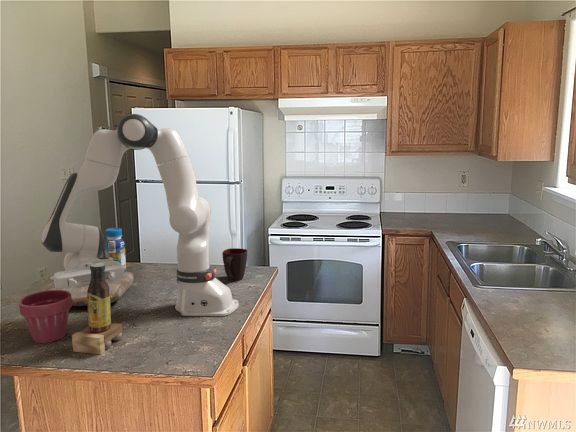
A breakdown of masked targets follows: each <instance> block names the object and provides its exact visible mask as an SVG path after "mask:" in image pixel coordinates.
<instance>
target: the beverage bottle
mask: <svg viewBox="0 0 576 432" xmlns="http://www.w3.org/2000/svg"><path fill="white" fill-rule="evenodd" d="M105 237H106V238H107V239H106V240H105V241H104V253H105V258H106V257H111V258H113V261H117V262H119V263H120V264H122V265H123V266H124V270H125V272H127V263H126V262H127V261H126V248H125V244H126V243H125V241H124V239H123V238H122V237H123V230H122V228H120V227H110V228H106V229H105Z"/></svg>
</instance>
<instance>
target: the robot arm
mask: <svg viewBox="0 0 576 432" xmlns="http://www.w3.org/2000/svg"><path fill="white" fill-rule="evenodd" d="M144 149H147V150H149V151H150V152H151V154H152V155H153V158H154V160H155V163H156V167H157V170H158V173H159V175H160V178H161V180H162V185H163V186H164V187H163V188H164V191H165V197H166V202H167V208H168V212H169V213H168V214H169V218H168V219H169V225H170V227H171V228H172V230H174V232H176V233H178V240H177V244H176V259H177V269H176V282H177V296H176V302H175V307H174V308H175V310H176V311H177V312H178V313H180V315H181V316H183V317H184V316H185V317H186V316H187V317H225V316H228V315H231V314H232V313H234V312H235V311H236V310H237V309H238V308H239V306H240V305H239V301H238V300H237V299H233V295H232V292H231V289H230V287H228V286H227V285H226V284H224V283H223V282H222V281H220V280H219V279H218V278H216V277H215V276H216V272H217V268H215V269H212V267H211V266H210V236H211V235H210V234H211V212H212V208H211V204H210V203H209V201H208V200H207V199H206V198H204V197H202V196H199V192H198V185H197V177H196V173H195V171H194V168H193V164H192V162H191V160H190V156H189V154H188V151H187V148H186V145H185V143H184V142H183V139H182V138H181V136H180V134H179V133H178V131H177V130H176V129H174V128H170V127H164V128H159V129H158V127H156V126H155V125H154V124H153V123H152V122H151V121H149V119H148V118H146V117H145V116H143V115H141V114H138V113H129V114H127V115H125V116H123V117H122V118H121V119H120V120H119V122H118V124H117V129H115V130H114V129H113V130H112V129H108V128H107V129H98V130H96V131H95V132H94V133H93V134H92V137H91V140H90V142H89V145H88V147H87V150H86V152H85V158H84V161H83V164H82V166H81V167H80V168H79V170H78V171H77V172H74V173H71V174H70V175H69V176H68V178H67V179H66V182H65V184H64V186H63V188H62V190H61V193H60V194H59V196H58V199H57V201H56V204H55V206H54V209H53V210H52V214H51V215H50V217H49V220H48V221H47V223H46V225H45V227H44V228H43V231H42V234H41V244H42V245H43V246H44V248H45V249H46V250H48V252H50V253H62V252H63V253H66V255H65V256H64V259H63V267H64V270H60V271H57V272H55V273H54V274H53V275H52V276H50V278H49V279H50V281H51V282H53V284H55V288H56V289H63V288H69V287H75V288H79V287H81V285H82V286H87V285H89V284H90V281H91V270H90V265H91V264H94V263H103V264H105V280H106V281H109V282H112V281H114V279H119V278H123V277H124V276H125V270H124V266H123V265H122V264H120V263H119V262H117V261H113V258H111V257H106V256H105V257H101V256H102V255H103V252H104V250H105V236H104V234H103V232H102V230H101V229H100V227H98V226H95V225H88V224H80V223H74V222H68V221H66V219H67V217H68V215H69V212H70V210H71V208H72V206H73V204H74V201H75V200H76V198H77V197H78V196H80V195H82V194H86V193H88V192H89V193H90V192H96V191H102V190H105V189H107V188H109V187H111V186H112V185H114V184H115V183H116V181H117V179H118V176H119V173H120V167H121V164H122V158H123V156H124V154H125V152H127V151H138V150H139V151H140V150H144Z"/></svg>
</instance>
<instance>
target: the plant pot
mask: <svg viewBox="0 0 576 432" xmlns="http://www.w3.org/2000/svg"><path fill="white" fill-rule="evenodd" d="M18 306H19V312H20V315H21V316H22V317H24V320H25V322H26V324H27V328H28V330H29V332H30V334H31V337H32V339H33V341H34V343H35V342H36V343H38V344H39V343H40V344H42V343H51V342H56V341H58V340H60V339H62V338H64V337H65V336H66V334H67V326H68V321H69V312H70V309H71V307H73V306H72V298H71V293H70V292H68V291H65V290H48V291H46V290H42V291H37V292H34V293H30V294H27V295H26V296H23V297H22V298H20V300H19V302H18Z"/></svg>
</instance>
